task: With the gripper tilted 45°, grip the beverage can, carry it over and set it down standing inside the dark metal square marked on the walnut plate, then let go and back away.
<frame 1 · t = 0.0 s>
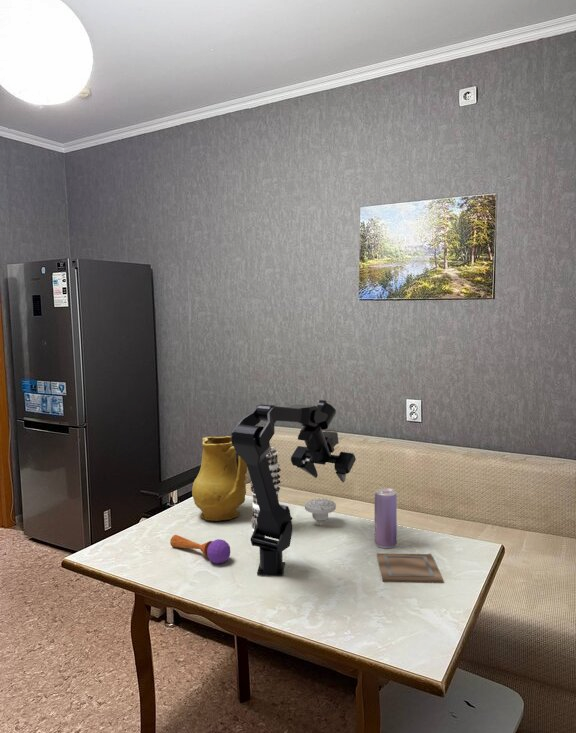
hand: (330, 478, 158), 15 cm above the table, tool tilted 35°, fingers open, 9 cm apart
beverage can: (385, 545, 147), on the table
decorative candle: (266, 530, 159), on the table
showerhead: (320, 524, 162), on the table
pitcher: (220, 516, 171), on the table
purple ball maraca: (200, 556, 143), on the table
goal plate: (408, 568, 133), on the table
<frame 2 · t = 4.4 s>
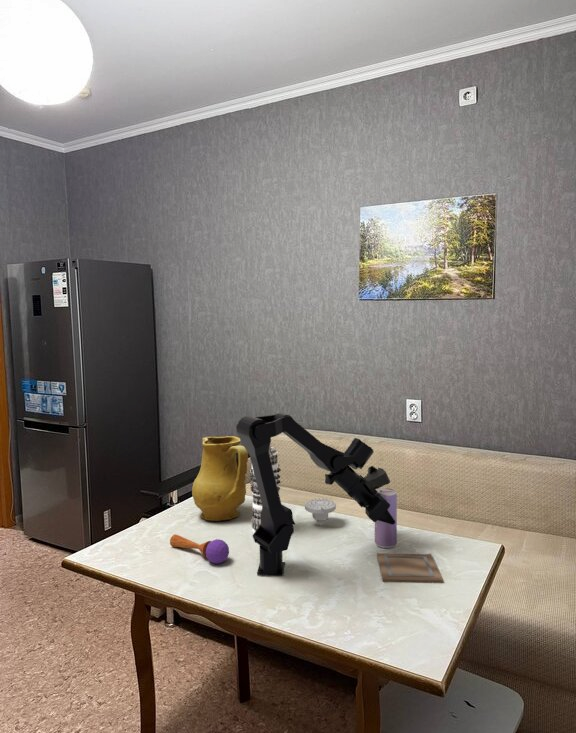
hand: (390, 519, 147), 7 cm above the table, tool tilted 45°, fingers closed on beverage can, 6 cm apart
beverage can: (385, 545, 147), on the table, touching gripper
everything else where it was.
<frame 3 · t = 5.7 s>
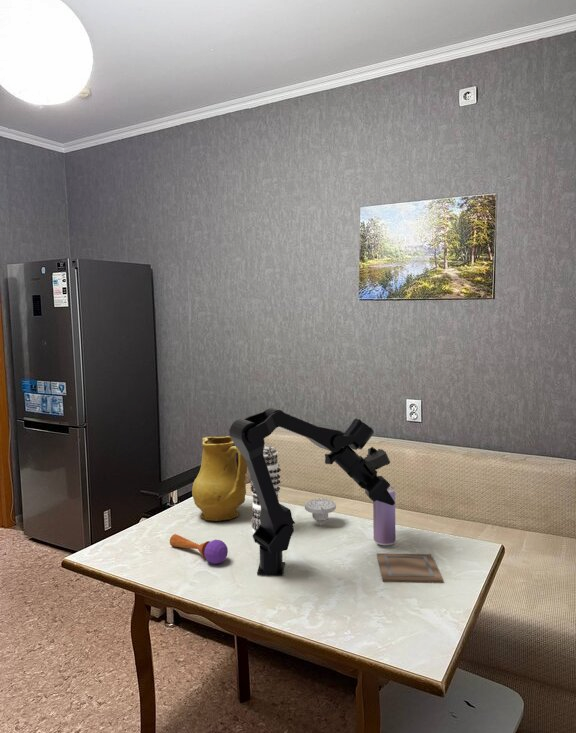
hand: (390, 500, 146), 12 cm above the table, tool tilted 45°, fingers closed on beverage can, 6 cm apart
beverage can: (384, 542, 147), point 1 cm above the table, touching gripper
everything else where it was.
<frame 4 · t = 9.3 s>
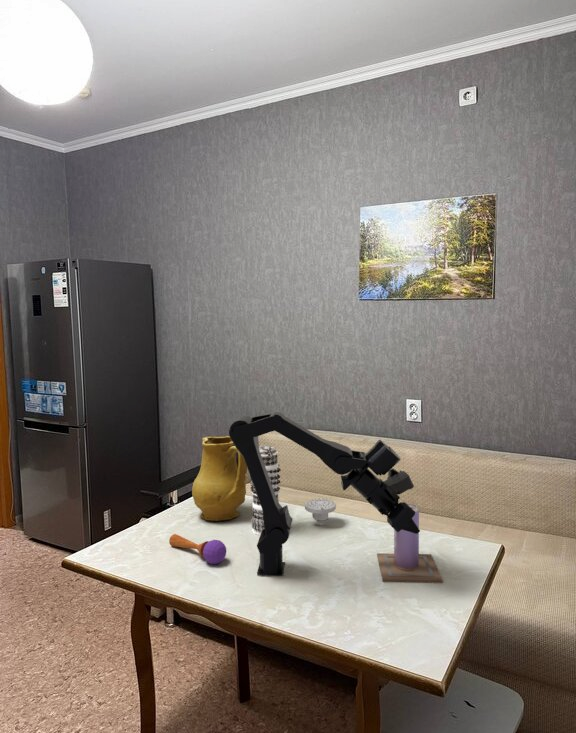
hand: (413, 527, 132), 10 cm above the table, tool tilted 45°, fingers open, 6 cm apart
beverage can: (406, 566, 133), resting on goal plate, touching gripper
everything else where it was.
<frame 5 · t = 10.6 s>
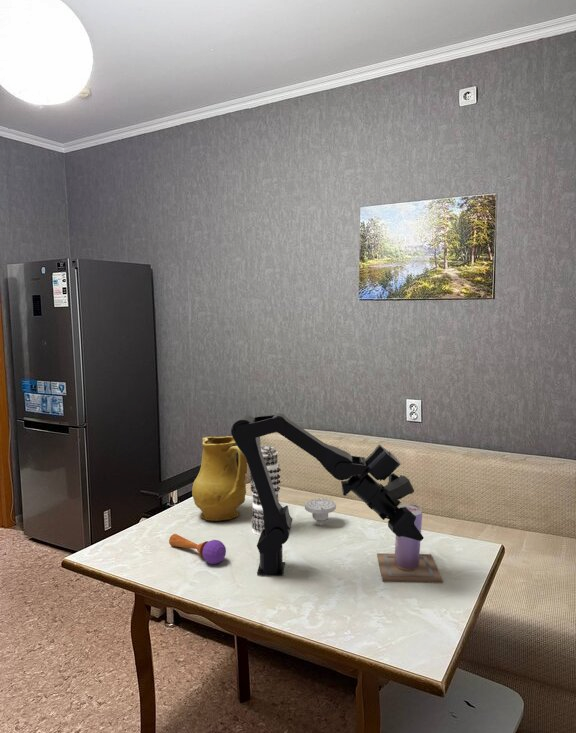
hand: (415, 531, 132), 9 cm above the table, tool tilted 45°, fingers open, 9 cm apart
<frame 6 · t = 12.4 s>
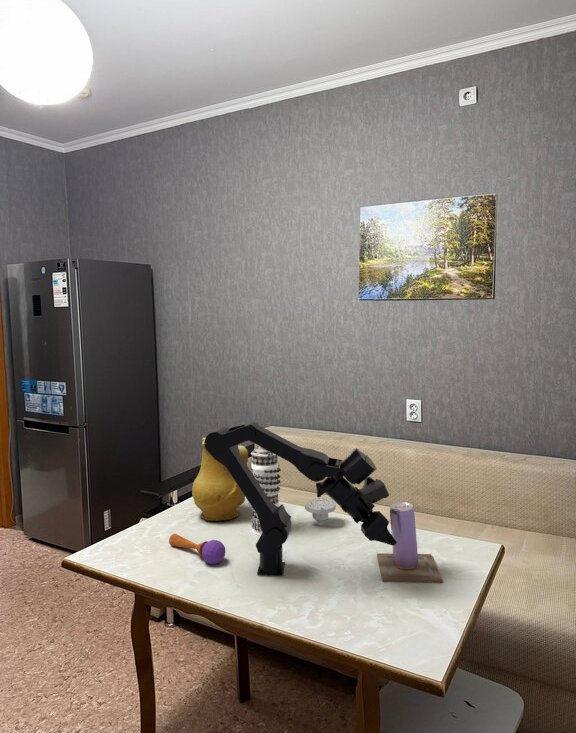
hand: (388, 536, 132), 9 cm above the table, tool tilted 45°, fingers open, 9 cm apart
beverage can: (406, 565, 133), point 1 cm above the table, touching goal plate
everything else where it was.
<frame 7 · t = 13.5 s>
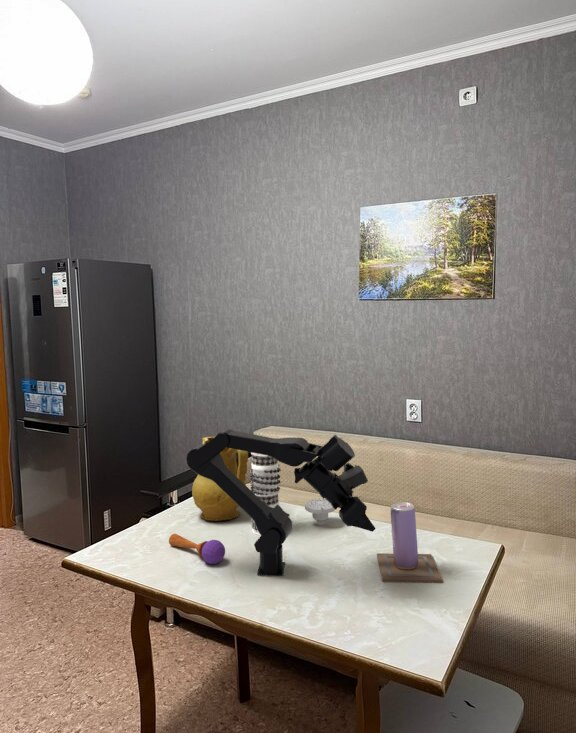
hand: (368, 522, 131), 12 cm above the table, tool tilted 45°, fingers open, 9 cm apart
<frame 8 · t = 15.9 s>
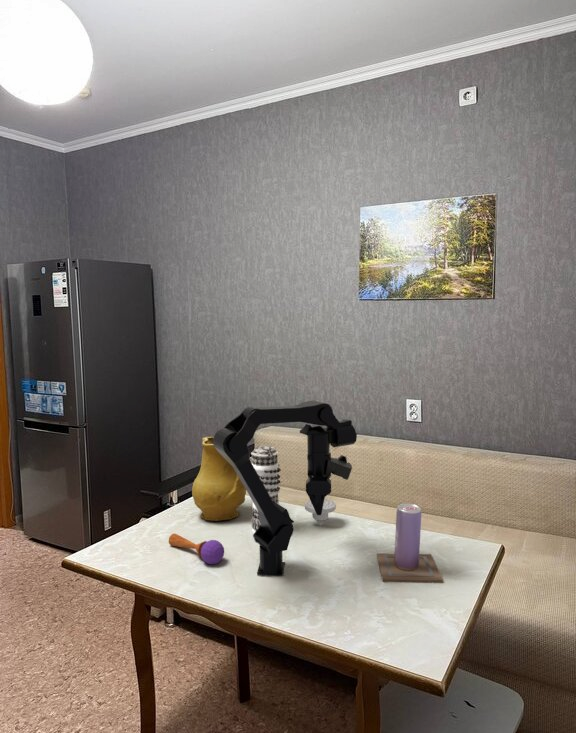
hand: (319, 508, 139), 13 cm above the table, tool pointing down, fingers open, 9 cm apart
at the end: beverage can inside the target area on the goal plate (0.4 cm from its centre), point 0.6 cm above the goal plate's base; beverage can tilted 3°; the gripper is holding nothing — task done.
